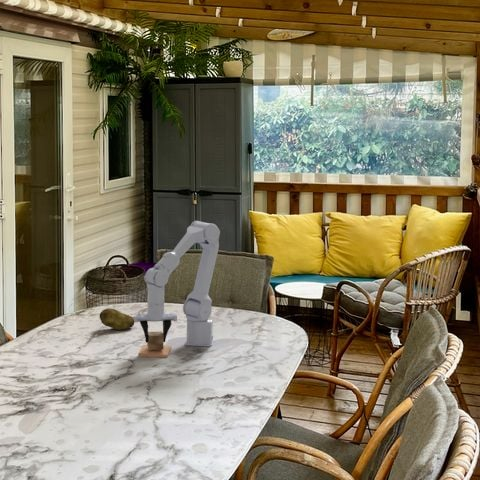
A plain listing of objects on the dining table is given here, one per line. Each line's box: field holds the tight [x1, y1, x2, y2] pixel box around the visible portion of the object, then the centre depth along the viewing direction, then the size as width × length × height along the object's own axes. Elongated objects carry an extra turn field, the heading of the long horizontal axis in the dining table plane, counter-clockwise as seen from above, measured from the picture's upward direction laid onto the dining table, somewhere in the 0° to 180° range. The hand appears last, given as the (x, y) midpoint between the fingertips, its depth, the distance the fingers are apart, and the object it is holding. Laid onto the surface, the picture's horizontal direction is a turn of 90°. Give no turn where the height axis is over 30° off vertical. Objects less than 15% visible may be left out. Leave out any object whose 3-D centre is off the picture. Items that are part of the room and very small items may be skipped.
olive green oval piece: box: [99, 308, 135, 331], centre depth 284 cm, size 8×13×8 cm, turn 90°
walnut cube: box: [146, 330, 164, 350], centre depth 257 cm, size 5×5×5 cm
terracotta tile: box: [137, 344, 172, 358], centre depth 258 cm, size 10×10×1 cm
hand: (155, 341), depth 257 cm, fingers open, 5 cm apart
